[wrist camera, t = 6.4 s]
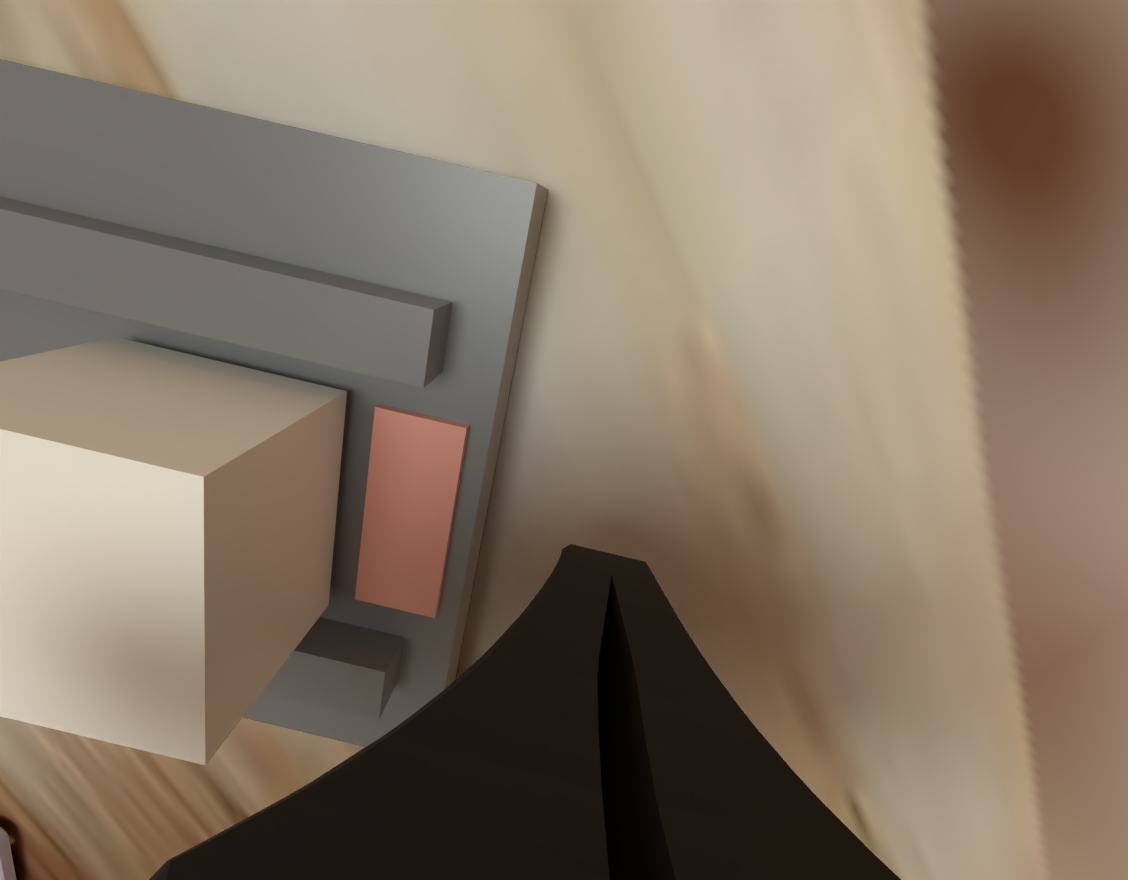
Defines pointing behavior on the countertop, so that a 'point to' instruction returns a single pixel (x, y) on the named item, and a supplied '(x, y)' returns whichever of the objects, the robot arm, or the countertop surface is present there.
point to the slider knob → (158, 539)
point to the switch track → (294, 335)
